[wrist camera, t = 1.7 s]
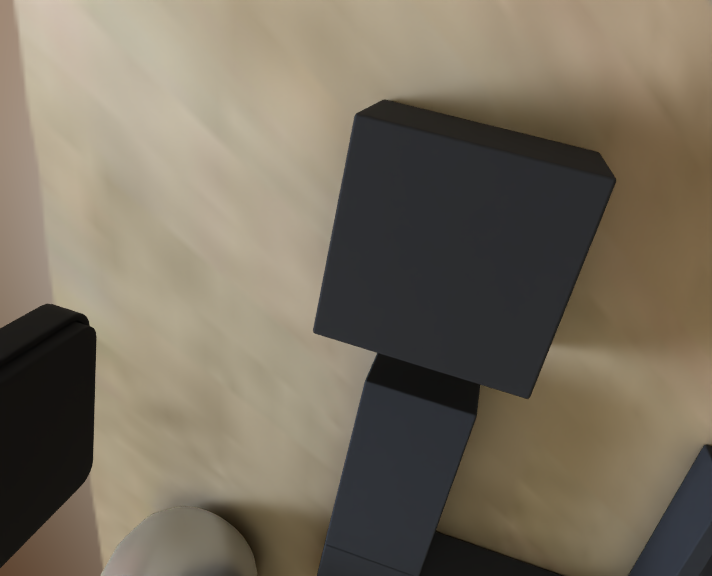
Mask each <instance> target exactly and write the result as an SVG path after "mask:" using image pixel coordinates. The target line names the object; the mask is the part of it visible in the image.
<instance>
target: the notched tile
mask: <svg viewBox="0 0 712 576" xmlns="http://www.w3.org/2000/svg"><path fill="white" fill-rule="evenodd" d="M479 390H480V384H477V383H474V382H471V381H468V380H464V379H461V378H458V377H455V376H451V375H448V374H445V373H442V372H438V371H435V370H432V369H429V368H425V367H422V366H419V365H416V364H412V363H409V362H406V361H403V360H399V359H396V358H393V357H390V356H387V355H383V354H380V353H377V355H376V358H375V360H374V362H373V364H372V367H371V369H370V371H369V373H368V376H367V378H366V380H365V384H364V388H363V392H362V396H361V400H360V404H359V408H358V412H357V416H356V420H355V424H354V428H353V432H352V436H351V440H350V444H349V448H348V452H347V456H346V460H345V464H344V468H343V472H342V476H341V480H340V484H339V488H338V492H337V496H336V500H335V504H334V508H333V512H332V516H331V520H330V524H329V528H328V533H327V537H326V541H325V545H324V549H323V553H322V557H321V561H320V565H319V569H318V573H317V576H562V575H559V574H556V573H553V572H550V571H547V570H544V569H541V568H538V567H536V566H533V565H530V564H527V563H524V562H521V561H518V560H515V559H513V558H510V557H507V556H504V555H501V554H498V553H495V552H492V551H490V550H487V549H484V548H481V547H478V546H475V545H472V544H469V543H467V542H464V541H461V540H458V539H455V538H452V537H449V536H446V535H443V534H441V533H438V532H435V531H436V528H437V525H438V523H439V520H440V517H441V514H442V511H443V509H444V506H445V503H446V500H447V497H448V495H449V492H450V489H451V486H452V483H453V481H454V478H455V475H456V472H457V469H458V467H459V464H460V461H461V458H462V456H463V453H464V450H465V447H466V444H467V442H468V439H469V436H470V433H471V430H472V428H473V425H474V422H475V419H476V416H477V408H478V399H479ZM711 556H712V446H709V445H704V446H703V448H702V450H701V451H700V453H699V455H698V457H697V458H696V460H695V462H694V463H693V465H692V467H691V469H690V470H689V472H688V474H687V475H686V477H685V479H684V481H683V482H682V484H681V486H680V488H679V489H678V491H677V493H676V494H675V496H674V498H673V500H672V501H671V503H670V505H669V507H668V508H667V510H666V512H665V513H664V515H663V517H662V519H661V520H660V522H659V524H658V525H657V527H656V529H655V531H654V532H653V534H652V536H651V538H650V539H649V541H648V543H647V544H646V546H645V548H644V550H643V551H642V553H641V555H640V556H639V558H638V560H637V562H636V563H635V565H634V567H633V569H632V570H631V572H630V574H629V575H628V576H699V574H700V573H701V571H702V570H703V568H704V567H705V565H706V563H707V562H708V560H709V559H710V557H711Z"/></svg>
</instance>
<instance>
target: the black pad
mask: <svg viewBox="0 0 712 576" xmlns="http://www.w3.org/2000/svg"><path fill="white" fill-rule="evenodd" d="M615 183H616V178H615V177H614V175H613V173H612V172H611V170H610V169H609V167H608V166H607V164H606V162H605V161H604V159H603V158H602V156H601V155H600V153H599V152H596V151H592V150H588V149H584V148H579V147H575V146H571V145H567V144H563V143H559V142H555V141H551V140H547V139H543V138H539V137H535V136H531V135H527V134H523V133H519V132H515V131H511V130H506V129H502V128H498V127H494V126H490V125H486V124H482V123H478V122H474V121H470V120H466V119H462V118H458V117H454V116H450V115H446V114H442V113H438V112H433V111H429V110H425V109H421V108H417V107H413V106H409V105H405V104H401V103H397V102H393V101H389V100H382V101H380V102H378V103H376V104H374V105H372V106H370V107H368V108H366V109H364V110H362V111H360V112H358V113H356V115H355V117H354V122H353V127H352V132H351V138H350V143H349V148H348V153H347V158H346V163H345V169H344V174H343V179H342V184H341V189H340V194H339V199H338V205H337V210H336V215H335V220H334V225H333V230H332V236H331V241H330V246H329V251H328V256H327V261H326V267H325V272H324V277H323V282H322V287H321V292H320V298H319V303H318V308H317V313H316V318H315V323H314V328H313V332H314V333H315V334H318V335H322V336H325V337H328V338H331V339H335V340H338V341H341V342H344V343H348V344H351V345H354V346H357V347H361V348H364V349H367V350H370V351H374V352H377V353H380V354H383V355H387V356H390V357H393V358H396V359H399V360H403V361H406V362H409V363H412V364H416V365H419V366H422V367H425V368H429V369H432V370H435V371H438V372H442V373H445V374H448V375H451V376H455V377H458V378H461V379H464V380H468V381H471V382H474V383H477V384H480V385H484V386H487V387H490V388H493V389H497V390H500V391H503V392H506V393H510V394H513V395H516V396H519V397H523V398H526V399H529V397H530V396H531V393H532V391H533V388H534V386H535V383H536V381H537V378H538V376H539V373H540V371H541V368H542V366H543V363H544V361H545V358H546V356H547V353H548V351H549V348H550V346H551V343H552V341H553V338H554V336H555V333H556V331H557V328H558V326H559V323H560V321H561V318H562V316H563V313H564V311H565V308H566V306H567V303H568V301H569V298H570V296H571V293H572V291H573V288H574V286H575V283H576V281H577V278H578V276H579V273H580V271H581V268H582V266H583V263H584V261H585V258H586V256H587V253H588V251H589V248H590V246H591V243H592V241H593V238H594V236H595V233H596V231H597V228H598V226H599V223H600V221H601V218H602V216H603V213H604V211H605V208H606V206H607V203H608V201H609V198H610V196H611V193H612V191H613V188H614V186H615Z"/></svg>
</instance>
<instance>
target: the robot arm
mask: <svg viewBox="0 0 712 576" xmlns="http://www.w3.org/2000/svg"><path fill="white" fill-rule="evenodd" d="M95 368H96V332H95V330H94V328H92V327H90V326H89V321H88V319H87V317H86V316H85V315H83V314H81V313H78V312H75V311H72V310H69V309H66V308H63V307H59V306H56V305H53V304H45V305H42V306H40V307H38V308H37V309H35V310H33V311H31V312H29V313H27V314H26V315H24V316H22V317H20V318H18V319H17V320H15V321H13V322H11V323H9V324H7V325H6V326H4V327H2V328H0V568H1V567H2V566H3V565H4V564H5V563H6V562H7V561H8V560H9V559H10V557H12V556H13V555H14V554H15V553H16V552H17V551H18V550H19V549H20V548H21V546H23V544H24V543H25V542H26V541H27V540H28V539H29V538H30V537H31V536H32V535H33V534H34V533H35V532H36V531H37V530H38V529H39V528H40V527H41V526H42V525H43V524H44V523H45V522H46V521H47V520H48V519H49V518H50V517H51V516H52V515H53V514H54V513H55V512H56V511H57V510H58V509H59V508H60V507H61V506H62V505H63V504H64V503H65V502H66V501H67V500H68V499H69V498H70V497H71V496H72V494H74V493H75V492H76V491H77V489H78V488H79V487H80V486H81V485H82V484H83V483H84V482H85V480H86V479H87V477H88V475H89V473H90V471H91V468H92V463H93V440H94V404H95ZM699 576H712V556H711V557H710V559H709V560H708V562H707V563H706V565H705V567H704V568H703V570H702V571H701V573H700V574H699Z"/></svg>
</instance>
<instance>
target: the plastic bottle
mask: <svg viewBox="0 0 712 576" xmlns="http://www.w3.org/2000/svg"><path fill="white" fill-rule="evenodd" d="M101 576H258V574H257V569H256V564H255V560H254V555H253V553H252V551H251V548H250V546H249V545H248V543H247V542H246V540H245V539H244V537H243V536H242V535H241V534H240V533H239V532H238V530H237V529H236V528H234V527H233V526H232V525H231V524H230V523H228V522H227V521H226V520H224V519H223V518H221V517H219V516H218V515H216V514H214V513H211V512H209V511H207V510H204V509H200V508H196V507H188V506H181V507H174V508H170V509H167V510H163V511H160V512H156V513H153V514H152V515H150V516H148V517H147V518H145V519H144V520H143V521H142V522H141V523H140V524H139V525H138V526H137V527H135V528H134V529H133V530H132V531H131V532H130V533H129V534H128V535H127V536H126V537H125V538H124V539H123V540H122V541H121V542H120V543H119V544H118V546H117V547H116V549H115V551H114V553H113V554H112V556H111V558H110V560H109V561H108V563H107V565H106V566H105V568H104V570H103V572H102V573H101Z"/></svg>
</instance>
